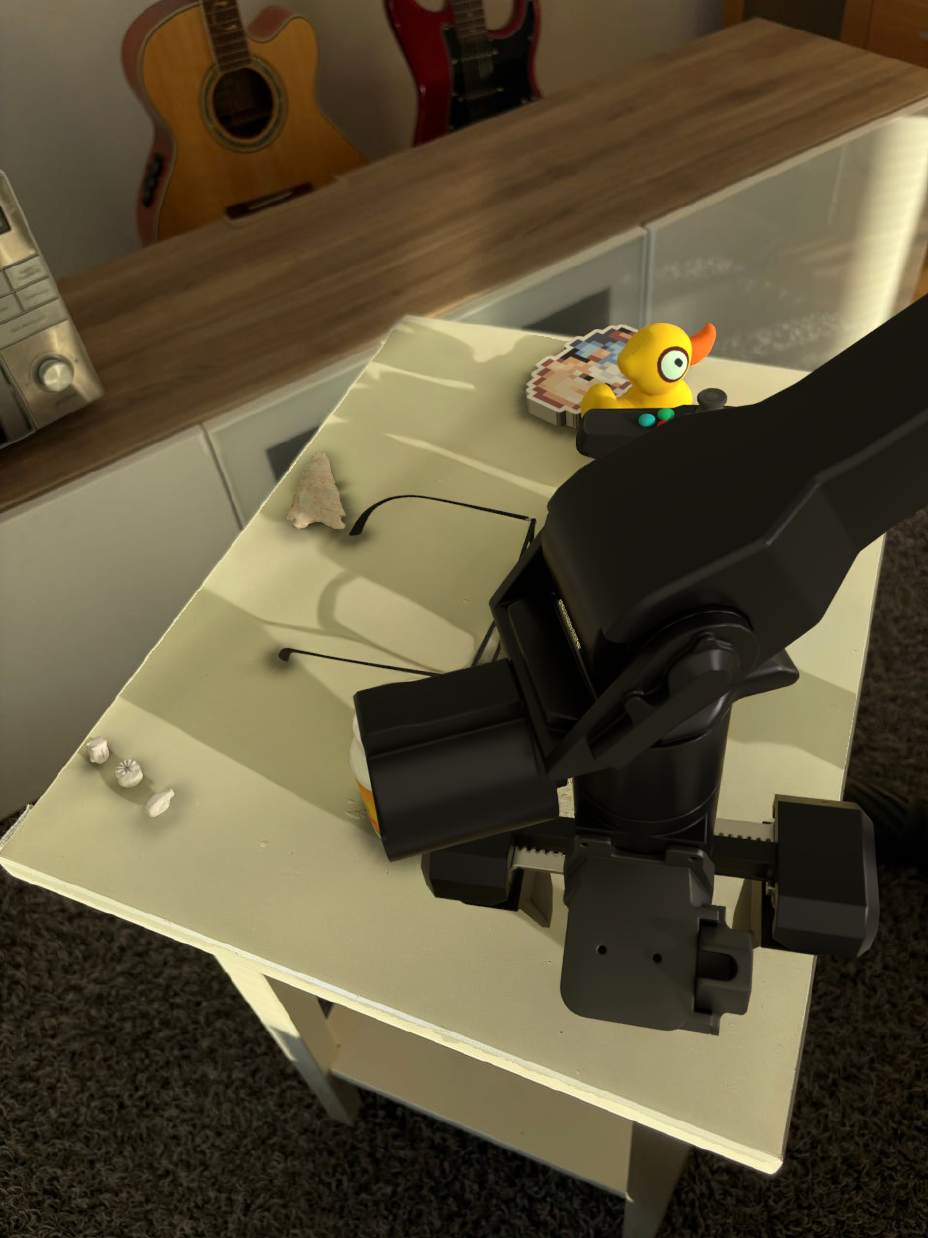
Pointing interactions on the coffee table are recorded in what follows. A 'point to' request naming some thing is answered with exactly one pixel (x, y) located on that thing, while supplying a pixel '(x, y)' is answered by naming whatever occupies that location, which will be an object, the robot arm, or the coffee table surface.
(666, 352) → the duckling
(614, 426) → the controller
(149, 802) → the set of white lumps
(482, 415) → the coffee table surface
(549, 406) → the toy
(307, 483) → the stone tool
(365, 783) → the supplement bottle
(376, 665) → the eyeglasses
